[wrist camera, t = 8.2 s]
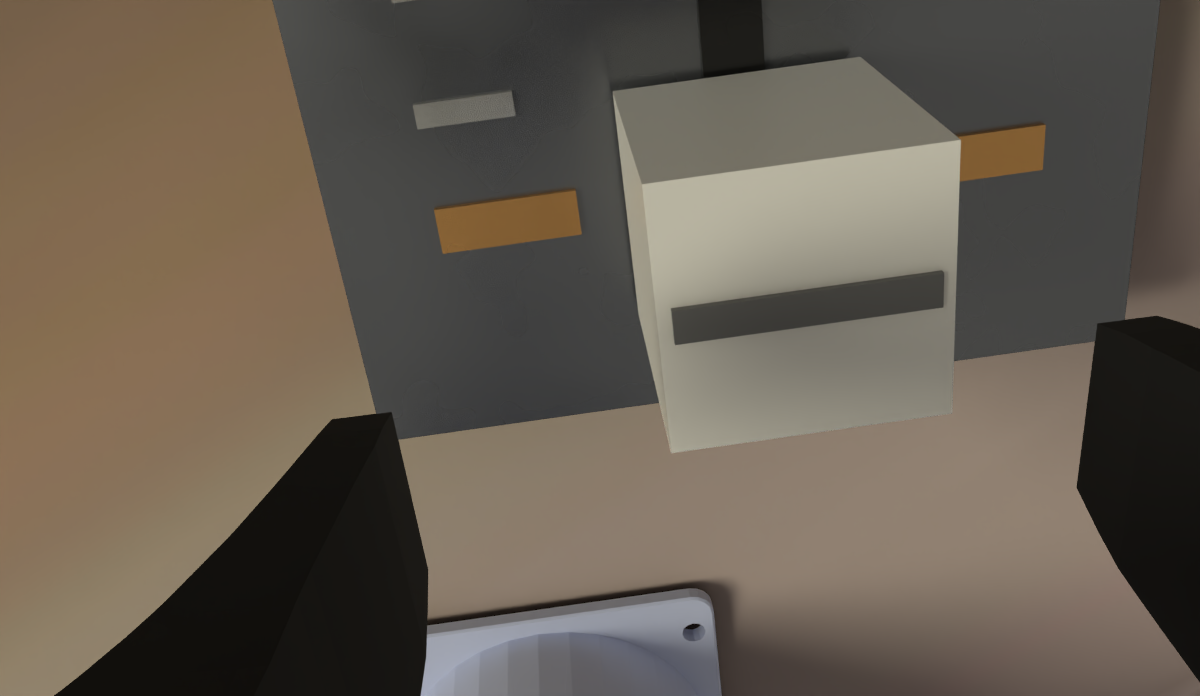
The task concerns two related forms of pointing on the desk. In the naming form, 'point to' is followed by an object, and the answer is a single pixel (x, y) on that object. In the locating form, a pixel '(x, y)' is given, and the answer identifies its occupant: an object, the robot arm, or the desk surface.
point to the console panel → (595, 184)
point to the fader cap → (791, 251)
